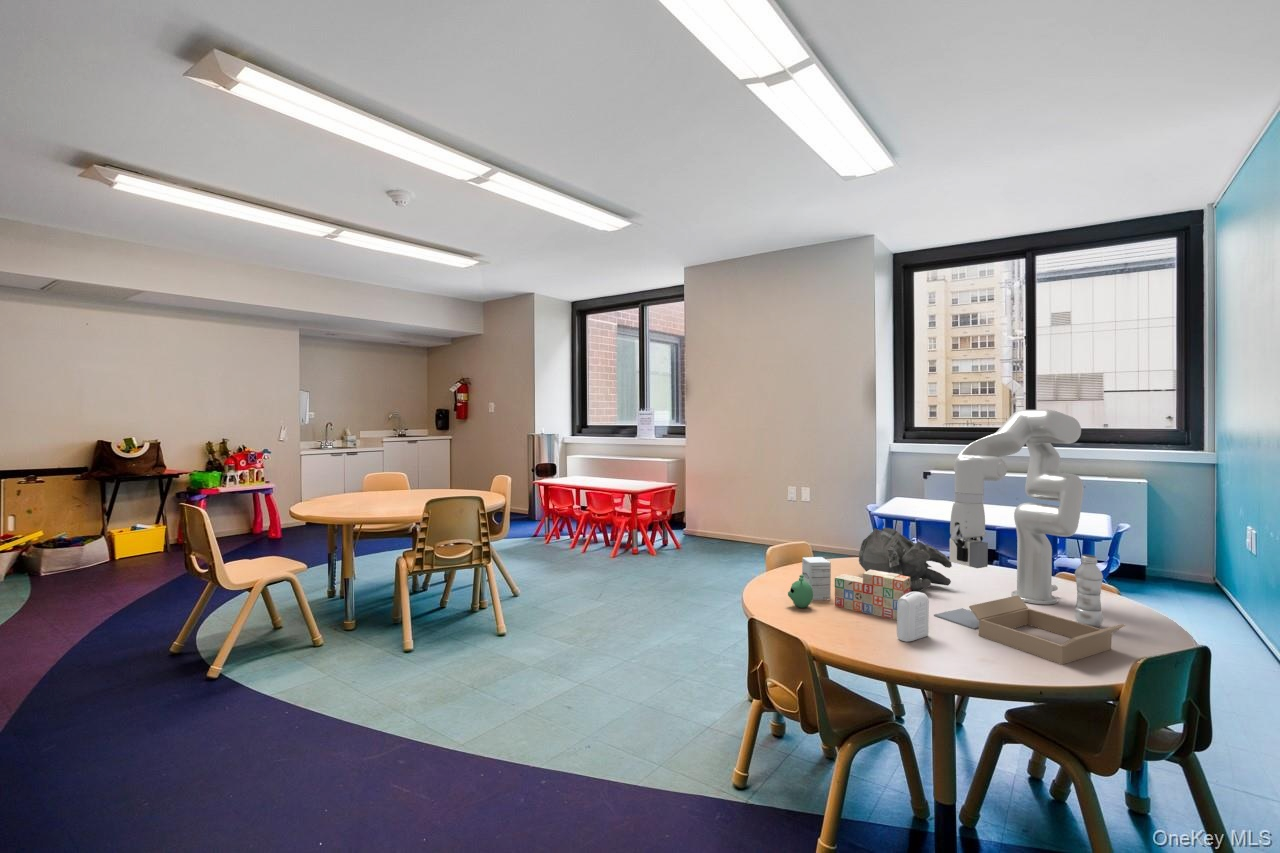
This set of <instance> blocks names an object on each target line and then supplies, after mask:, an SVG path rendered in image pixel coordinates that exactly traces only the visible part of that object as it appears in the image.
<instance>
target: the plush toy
mask: <svg viewBox="0 0 1280 853" xmlns="http://www.w3.org/2000/svg"><path fill="white" fill-rule="evenodd" d="M872 529H873V530H872V532H870V533H869V534H868V535H867V537H866V538H864V539H863V540H862V542H861V544H860V549H859V552H858V562H859V565H860V566H861V567H862V568H863V570H864V571H865V572H867V571H868V570H876V571H882V572H888V573H895V574H900V575H903V576H908V577H910V591H912V590H913V591H912V592H921V591H923V590H925V589H927V588H929V587H931V584H933V585H940V586H950V584H951V583H952V581H951V579H950V578H948V577H946V576H945V575H943V573H941V572H939V571H936V570H934V569H931V568H932V566H931V565H930V564H928V562H933V563H938V564H941V565H942V566H943V567H944V568H949V569H950V568H951V567H953V565H952V562H949V559H950V558H948V556H946V554H945V553H942V552H941V551H940V550H938V549H937V548H935V547H934V546H931V545H930V544H924V543H922V542H920V541H918V540H917V542H914V541H912V540H911V539H909V538H907V537H906V536H905V535H903V534H901V533H900V532H899V531H898V530H895V529H894V528H891V527H882V528H881V529H878V528H872Z"/></svg>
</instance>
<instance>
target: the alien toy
mask: <svg viewBox="0 0 1280 853" xmlns="http://www.w3.org/2000/svg"><path fill="white" fill-rule="evenodd" d="M803 577H804V576H803V575H802V574H800V575H798V579H797V580H796V581H794V582H793V583H792V584H791V586H790V590H788V592H787V596H788V597H789V598H790V600H791V601H792V604H793V605H794V606H796V607H798V608H800V609H804V608H807V607H808V606H809V605H811V603H812V601H813V600H812V598H813V591H812V588H811V586H810V584H809V583H808V582H806V581H803V580H804V579H803Z"/></svg>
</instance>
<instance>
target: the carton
mask: <svg viewBox="0 0 1280 853" xmlns="http://www.w3.org/2000/svg"><path fill="white" fill-rule="evenodd" d="M968 608H969V609H970V611H972V612H973V614H974V615H975V616H976V618H977V619H978V620H979V628H978V637H981V636H982V638H984V639H988V640H990V639H991V640H990V641H993V642H997V643H999V644H1001V643H1002V645H1005V646H1008V647H1010V646H1011V648H1013V647H1014V648H1013V649H1016V648H1018V649H1017V650H1019V649H1020V650H1019V651H1022V650H1023V651H1022V652H1024V651H1026V652H1025V653H1027V652H1029V653H1028V654H1030V653H1032V654H1031V655H1033V654H1035V655H1034V656H1036V655H1038V656H1037V657H1039V656H1041V657H1040V658H1042V657H1044V658H1043V659H1045V658H1046V659H1045V660H1047V659H1049V660H1048V661H1050V660H1051V662H1053V661H1054V662H1053V663H1056V662H1057V664H1059V663H1060V664H1059V665H1064V664H1065V663H1066V664H1068V663H1071V662H1074V661H1078V660H1082V659H1084V658H1088V657H1090V656H1094V655H1097V654H1101V653H1104V652H1107V651H1110V650H1112V642H1113V640H1112V638H1113V637H1112V635H1113V633H1115V632H1117V631H1118V630H1120V629H1122V628H1124V627H1125V626H1126V624H1125V623H1121V624H1117V625H1113V626H1110V627H1105V628H1103V629H1102V628H1099V627H1094V626H1089V625H1085V624H1082V623H1078V622H1077V621H1076V620H1075V621H1074V620H1071V619H1067V618H1065V617H1060V616H1056V615H1053V614H1049V613H1046V612H1043V611H1038V610H1035V609H1032V608H1029V607H1028V605H1027V604H1026V602H1023V601H1022V599H1021V598H1020V597H1019V595H1018V596H1013V597H1012V596H1010V597H1005V598H999V599H995V600H991V601H985V602H981V603H976V604H973V605H969V606H968ZM1027 624H1029V625H1027ZM1023 625H1025V626H1031V625H1032V626H1031V627H1034V626H1036V627H1035V628H1037V627H1039V628H1038V629H1041V628H1042V629H1041V630H1044V629H1045V631H1047V630H1048V632H1050V631H1051V632H1050V633H1054V632H1055V633H1054V634H1057V633H1058V634H1057V635H1060V634H1061V635H1060V636H1063V635H1064V636H1063V637H1067V638H1071V639H1069V640H1068V641H1066V642H1064V643H1062V644H1059V643H1057V642H1054V641H1050V640H1047V639H1044V638H1041V637H1038V636H1035V635H1032V634H1029V633H1025V632H1023V631H1020V630H1016V628H1015V627H1017V628H1020V627H1019V626H1021V627H1024V626H1023ZM1012 628H1013V629H1012Z"/></svg>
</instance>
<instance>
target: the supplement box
mask: <svg viewBox="0 0 1280 853" xmlns="http://www.w3.org/2000/svg"><path fill="white" fill-rule="evenodd" d="M801 561H802V565H801V567H802V569H801V570H802V571H801V572H802V573H801V575H803V576H804V577H803V579H804V580H803V581H806V582H808V583H809V584H810V586H811V588H812V591H813V598H812V601H828V600H827V599H830V600H831V598H832V597H831V590H832V589H831V586H832V585H831V582H832V581H831V578H832V576H831V575H832V574H831V573H832V570H831V569H832V564H831V561H829V560H827V559H826V558H825V557H823V556H809V557H808V556H806V557H802V560H801Z"/></svg>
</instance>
